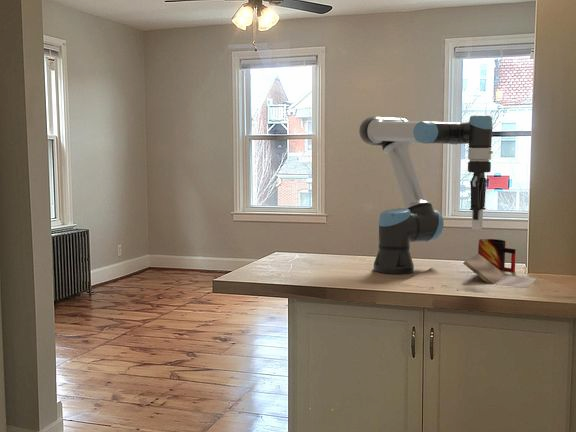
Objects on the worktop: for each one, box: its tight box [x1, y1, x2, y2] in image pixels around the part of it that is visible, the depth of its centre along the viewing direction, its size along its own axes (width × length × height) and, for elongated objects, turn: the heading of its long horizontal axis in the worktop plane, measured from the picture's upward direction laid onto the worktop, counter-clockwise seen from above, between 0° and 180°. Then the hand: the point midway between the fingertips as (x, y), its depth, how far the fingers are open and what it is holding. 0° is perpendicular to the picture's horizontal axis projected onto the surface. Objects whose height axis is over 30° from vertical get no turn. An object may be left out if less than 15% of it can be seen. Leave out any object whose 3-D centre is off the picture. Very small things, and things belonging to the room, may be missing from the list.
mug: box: [477, 238, 517, 273], centre depth 228 cm, size 10×14×12 cm
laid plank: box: [495, 274, 537, 289], centre depth 205 cm, size 10×18×1 cm, turn 149°
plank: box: [462, 253, 507, 285], centre depth 210 cm, size 12×18×1 cm
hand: (477, 228), depth 211 cm, fingers open, 2 cm apart
